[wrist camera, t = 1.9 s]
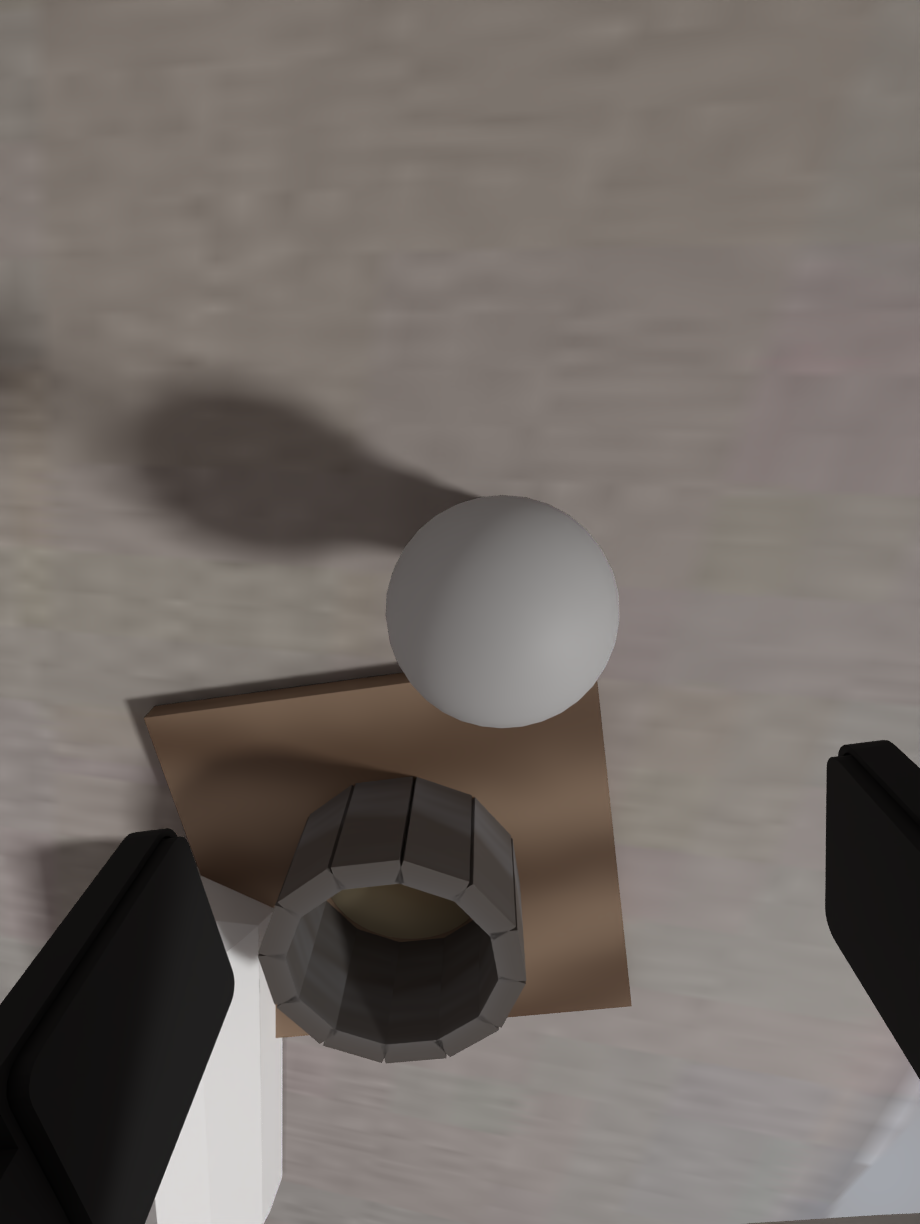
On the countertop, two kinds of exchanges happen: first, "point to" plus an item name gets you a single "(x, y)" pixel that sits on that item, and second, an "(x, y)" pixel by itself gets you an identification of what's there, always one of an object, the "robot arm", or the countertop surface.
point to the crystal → (232, 1093)
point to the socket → (405, 859)
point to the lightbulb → (502, 611)
